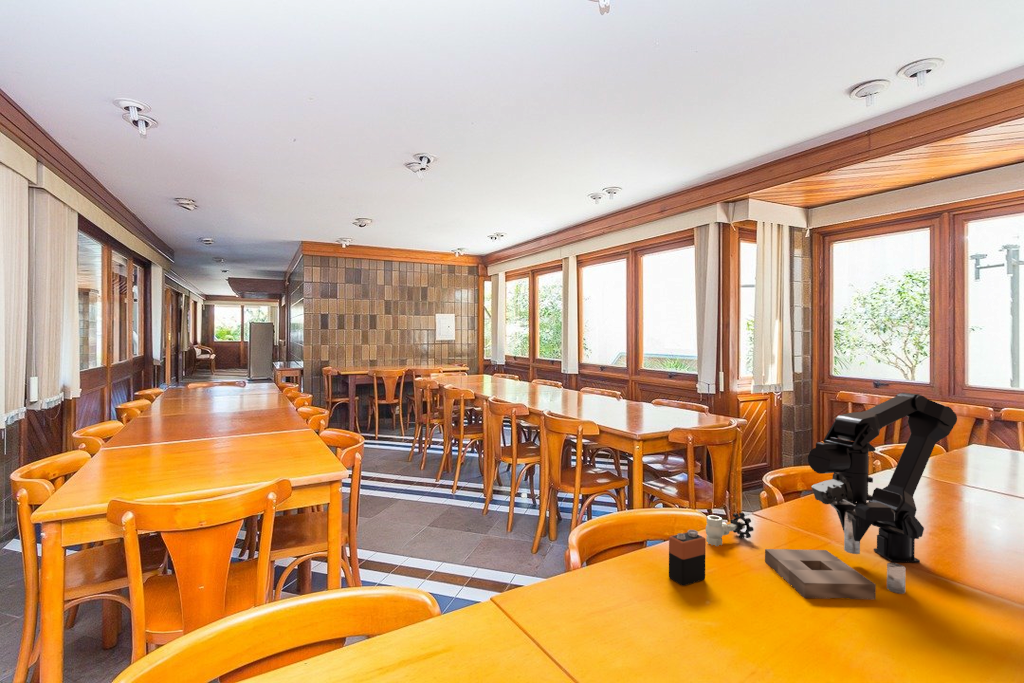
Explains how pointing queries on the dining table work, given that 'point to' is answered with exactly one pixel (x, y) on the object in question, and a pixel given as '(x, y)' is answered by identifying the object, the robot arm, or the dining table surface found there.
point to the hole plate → (819, 574)
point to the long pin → (850, 536)
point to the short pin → (896, 578)
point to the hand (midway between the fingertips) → (852, 538)
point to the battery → (687, 557)
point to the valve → (726, 528)
